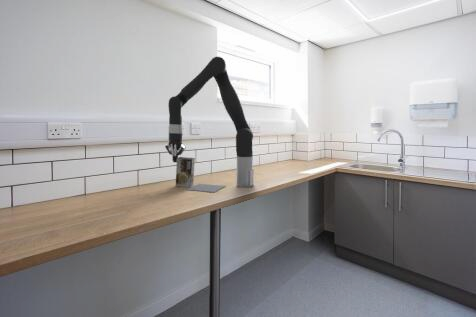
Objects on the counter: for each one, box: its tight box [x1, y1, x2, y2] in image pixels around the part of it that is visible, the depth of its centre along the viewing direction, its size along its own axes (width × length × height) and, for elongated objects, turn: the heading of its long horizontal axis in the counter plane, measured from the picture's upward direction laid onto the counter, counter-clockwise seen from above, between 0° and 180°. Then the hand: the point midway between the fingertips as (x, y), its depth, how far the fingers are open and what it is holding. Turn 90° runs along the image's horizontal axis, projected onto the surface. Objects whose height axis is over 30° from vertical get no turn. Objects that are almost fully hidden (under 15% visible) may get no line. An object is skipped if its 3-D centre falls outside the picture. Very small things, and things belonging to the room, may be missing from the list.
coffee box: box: [175, 156, 196, 188], centre depth 151 cm, size 9×6×16 cm
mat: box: [185, 183, 227, 193], centre depth 147 cm, size 18×15×1 cm
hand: (175, 162), depth 153 cm, fingers closed
